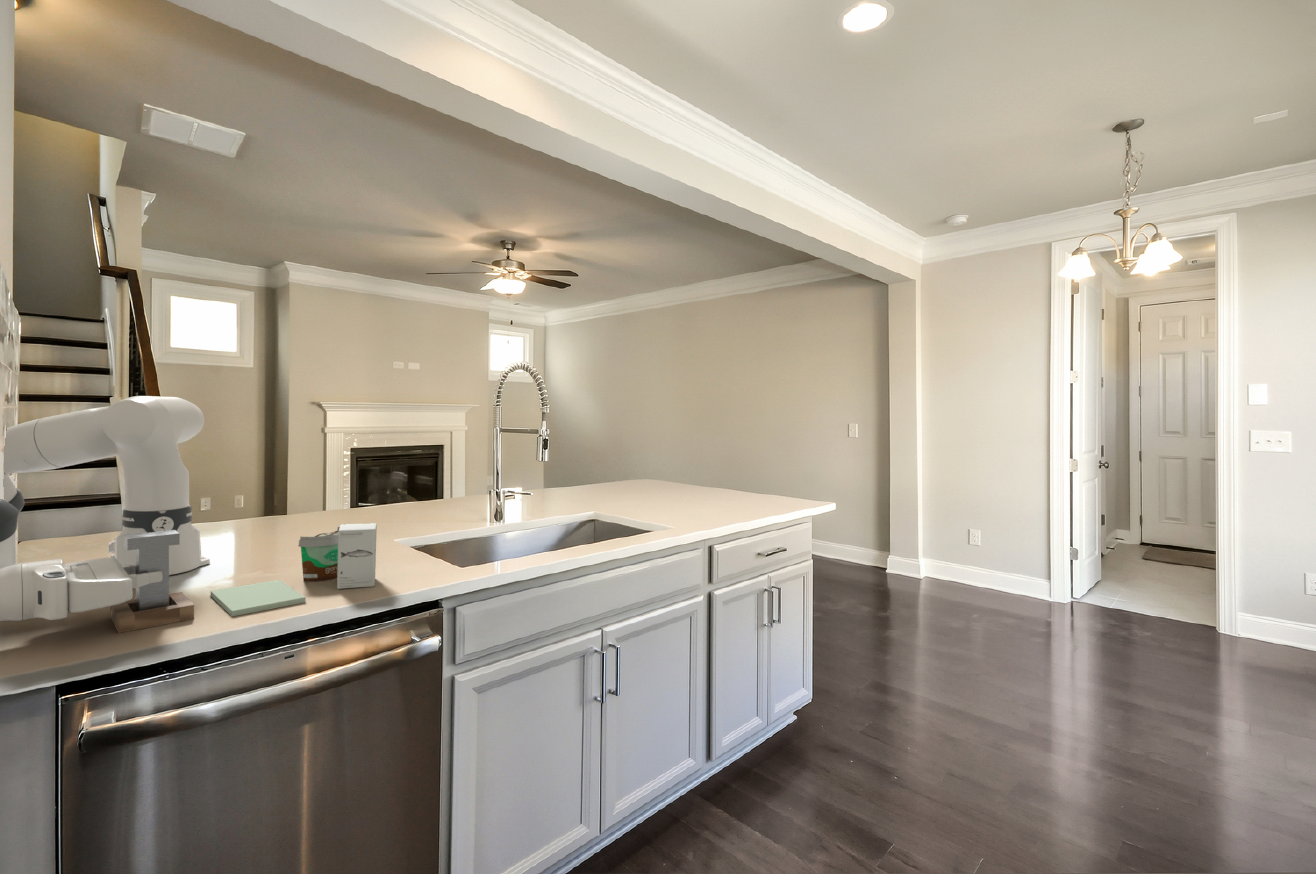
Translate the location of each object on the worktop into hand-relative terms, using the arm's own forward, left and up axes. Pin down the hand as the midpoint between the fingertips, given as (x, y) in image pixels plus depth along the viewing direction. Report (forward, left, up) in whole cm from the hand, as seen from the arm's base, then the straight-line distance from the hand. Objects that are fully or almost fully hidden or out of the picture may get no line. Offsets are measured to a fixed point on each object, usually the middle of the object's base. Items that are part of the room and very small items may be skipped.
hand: (158, 572), depth 107 cm
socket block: (0, -1, -8) cm, 8 cm away
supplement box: (+2, +33, -8) cm, 34 cm away
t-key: (0, -1, -8) cm, 8 cm away
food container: (-7, +31, -8) cm, 33 cm away
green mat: (0, +15, -8) cm, 17 cm away
